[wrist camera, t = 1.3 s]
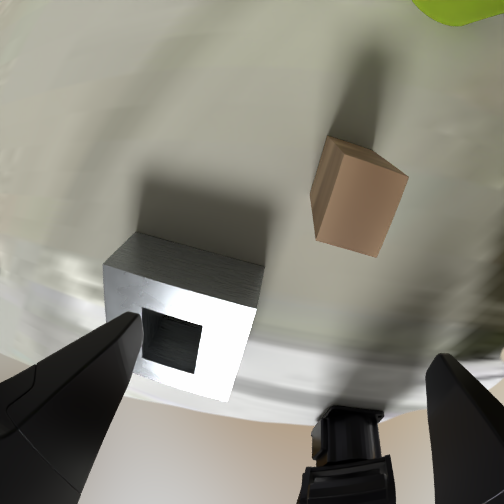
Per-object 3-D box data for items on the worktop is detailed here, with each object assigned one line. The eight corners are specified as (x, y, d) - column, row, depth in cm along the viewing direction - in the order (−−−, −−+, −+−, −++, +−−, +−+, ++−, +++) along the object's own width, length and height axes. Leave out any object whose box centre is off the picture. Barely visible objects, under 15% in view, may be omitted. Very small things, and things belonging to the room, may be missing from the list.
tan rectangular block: (372, 150, 18) (408, 177, 12) (352, 207, 20) (376, 257, 14) (327, 135, 18) (344, 154, 12) (309, 194, 20) (315, 240, 14)
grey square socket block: (264, 266, 23) (256, 309, 18) (237, 358, 28) (227, 402, 23) (135, 231, 23) (102, 264, 18) (133, 327, 28) (111, 364, 23)
